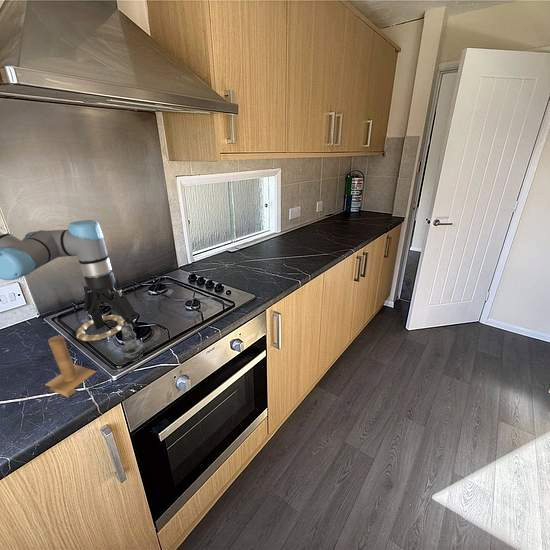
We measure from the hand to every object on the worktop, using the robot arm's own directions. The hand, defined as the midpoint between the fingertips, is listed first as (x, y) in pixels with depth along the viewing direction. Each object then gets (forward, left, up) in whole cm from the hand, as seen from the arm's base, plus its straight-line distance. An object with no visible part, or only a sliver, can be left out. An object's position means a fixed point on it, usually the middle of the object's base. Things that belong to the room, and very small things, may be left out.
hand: (116, 333), depth 95 cm
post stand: (+7, -20, 0) cm, 21 cm away
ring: (-6, 0, +1) cm, 6 cm away
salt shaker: (+15, -7, -1) cm, 16 cm away
